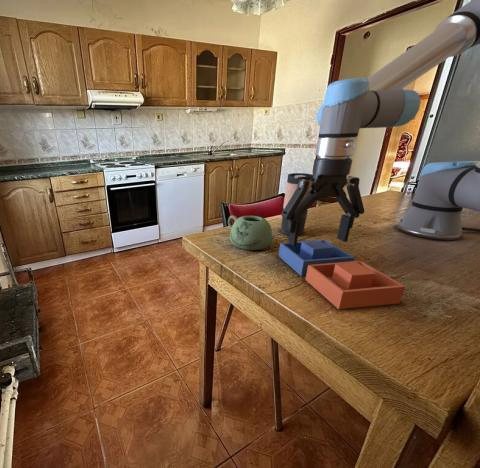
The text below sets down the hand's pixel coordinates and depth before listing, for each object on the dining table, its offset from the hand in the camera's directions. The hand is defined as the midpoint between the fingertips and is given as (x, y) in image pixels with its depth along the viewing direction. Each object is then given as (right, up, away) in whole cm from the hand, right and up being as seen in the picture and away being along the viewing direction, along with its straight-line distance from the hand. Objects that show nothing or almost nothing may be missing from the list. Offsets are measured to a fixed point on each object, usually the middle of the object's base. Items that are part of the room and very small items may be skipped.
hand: (317, 242), depth 67 cm
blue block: (0, -5, +2) cm, 6 cm away
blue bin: (0, -6, +2) cm, 6 cm away
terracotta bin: (+1, -11, -10) cm, 14 cm away
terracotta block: (+1, -10, -10) cm, 14 cm away
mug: (-13, -1, +17) cm, 22 cm away
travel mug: (+5, +3, +24) cm, 24 cm away
